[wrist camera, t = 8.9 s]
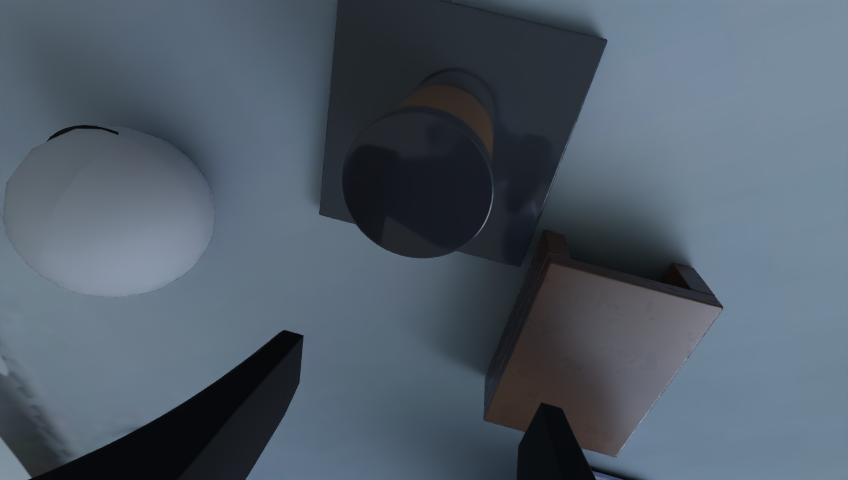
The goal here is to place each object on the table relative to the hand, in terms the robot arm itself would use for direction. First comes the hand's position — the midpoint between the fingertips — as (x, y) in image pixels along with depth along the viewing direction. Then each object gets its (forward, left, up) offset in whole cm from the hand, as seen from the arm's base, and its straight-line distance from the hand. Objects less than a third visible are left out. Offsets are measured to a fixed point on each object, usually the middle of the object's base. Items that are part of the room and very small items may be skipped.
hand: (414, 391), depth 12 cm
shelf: (-3, -8, -9) cm, 12 cm away
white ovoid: (-1, +15, -10) cm, 18 cm away
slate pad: (+5, +1, -9) cm, 11 cm away
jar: (+5, +2, -9) cm, 10 cm away
